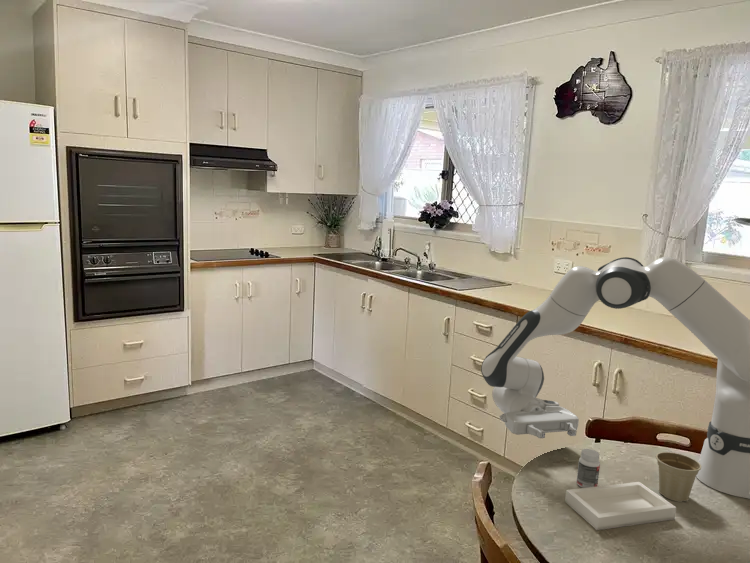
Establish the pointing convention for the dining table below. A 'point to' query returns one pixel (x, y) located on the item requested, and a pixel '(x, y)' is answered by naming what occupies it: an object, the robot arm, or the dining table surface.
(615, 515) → the tray
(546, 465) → the dining table surface
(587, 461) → the pill bottle
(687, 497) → the flower pot
